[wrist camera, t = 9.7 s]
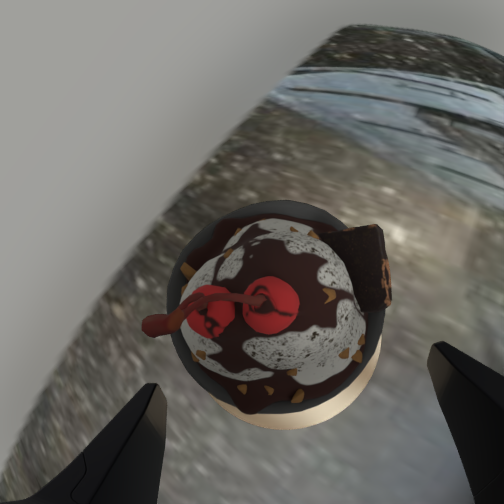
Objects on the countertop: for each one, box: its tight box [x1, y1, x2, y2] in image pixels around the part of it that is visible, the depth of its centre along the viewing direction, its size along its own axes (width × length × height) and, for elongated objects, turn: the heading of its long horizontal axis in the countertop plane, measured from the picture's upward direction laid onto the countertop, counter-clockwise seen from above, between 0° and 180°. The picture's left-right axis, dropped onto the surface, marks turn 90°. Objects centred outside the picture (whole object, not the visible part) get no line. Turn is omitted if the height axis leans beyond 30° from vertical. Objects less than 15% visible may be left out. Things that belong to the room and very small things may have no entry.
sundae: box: [142, 200, 392, 415], centre depth 11 cm, size 7×7×15 cm
